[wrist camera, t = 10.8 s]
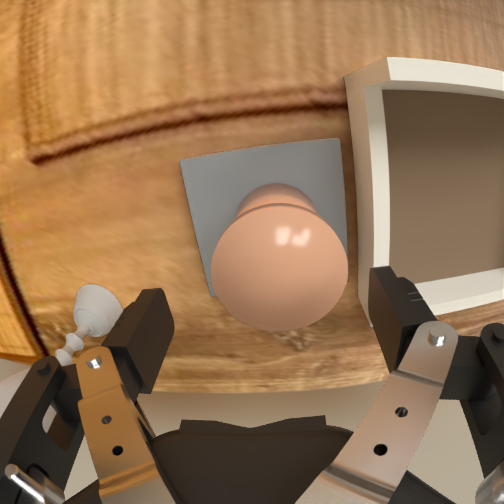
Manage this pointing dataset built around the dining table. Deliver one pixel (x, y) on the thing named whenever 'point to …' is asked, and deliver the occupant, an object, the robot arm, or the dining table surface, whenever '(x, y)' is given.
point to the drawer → (430, 178)
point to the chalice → (73, 337)
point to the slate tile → (258, 174)
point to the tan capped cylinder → (278, 261)
